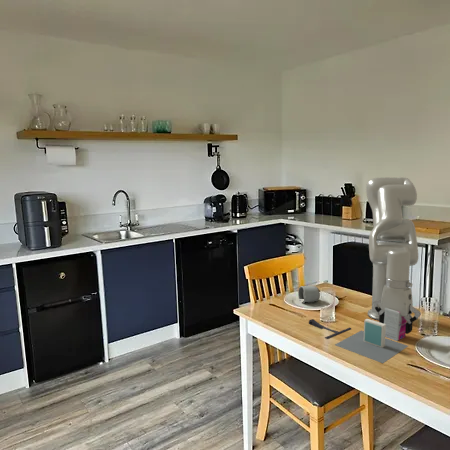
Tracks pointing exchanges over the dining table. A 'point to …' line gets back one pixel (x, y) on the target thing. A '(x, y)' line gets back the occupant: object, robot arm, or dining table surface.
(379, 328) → the tile
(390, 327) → the supplement box
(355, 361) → the dining table surface
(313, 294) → the ceramic mug
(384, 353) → the mat
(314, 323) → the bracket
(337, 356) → the dining table surface
